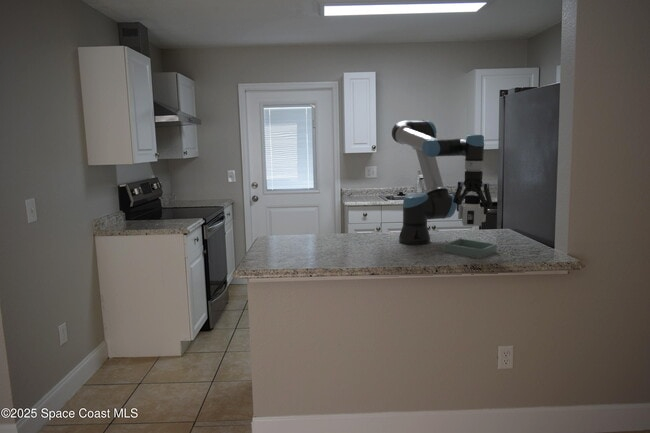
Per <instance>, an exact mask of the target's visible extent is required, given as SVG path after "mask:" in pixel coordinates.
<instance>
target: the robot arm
mask: <svg viewBox="0 0 650 433" xmlns="http://www.w3.org/2000/svg"><path fill="white" fill-rule="evenodd" d="M391 137H392V139H393V140H394V141H395V142H396V143H398V144H401V145H408V146H410V147H412V149H413V150H414V151H415V152H416V155H417V159H418V163H419V166H420V171H421V174H422V178H423V183H424V186H425V189H426V192H418V193H417V192H416V193H409V194H407V195H405V197H404V198H403V203H402V227H401V229H400V230H401V231H400V233H399V236H398V241H399V243H402V244H405V245H413V246H414V245H415V246H417V245H419V246H421V245H426V244H427V245H428V244H430V243H431V236H430V235H431V234H430V232H429V229H428V220H439V219H449V218H451V217H452V216H454V215H455V213H456V212H458V214H457V218H458V219H457V220H462V208H463V206H464V203H463V201H465V196H467V195H469V194H468V193H470V192H474V193H475V194H476V195H478V196H479V198H480V203H481V204H482V207H481V208H482V214H481V223H485V222H486V221H487V220H486V219H487V218H486V217H487V215H488V213H489V207H492V206H493V205H494V204H493V199H492V196H491V192H490V183H483V174H484V173H483V169H484V153H485V137H484V135H483V134H467V135H466V137H465V138H449V139H448V138H446V139H444V138H443V139H442V138H441V139H439V138H437V128H436V125H435V123H433V122H432V121H430V120H425V119H421V120H405V119H404V120H401V121H397V123H396V124H394V125H393V127H392V129H391ZM456 156H457V157H460V156H461V157H465V159H464V160H465V161H464V170H465V171H464V181H458V182H457V187H456V188H457V189H456V191H455V194H454V195H453V194H452V193H451V194H450V192H449V190H448V188H447V187H445V186H444V183H443V180H442V175H441V172H440V169H439V164H438V161H437V157H456ZM463 187H465V188H464V189H463ZM482 188H483V190H482ZM462 190H463V191H462ZM483 192H484V193H483Z"/></svg>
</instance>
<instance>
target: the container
mask: <svg viewBox="0 0 650 433" xmlns="http://www.w3.org/2000/svg"><path fill="white" fill-rule="evenodd" d="M481 214H482V207H481V200H480V198H479V196H478V194H467V195H466V196H465V198H464V205H463V208H462V219H461V223H462V225H463V226H464V227H465V226H470V227H482V222H481Z"/></svg>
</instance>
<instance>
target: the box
mask: <svg viewBox="0 0 650 433" xmlns="http://www.w3.org/2000/svg"><path fill="white" fill-rule="evenodd" d="M461 244H462V245H461ZM463 245H464V246H463ZM497 248H498V244H497V243H492V242H491V243H490V242H487V241H486V242H485V241H481V240H480V241H479V240H473V239H465V238H457V239H455V240H451V241H448V242H446V243H444V244H443V252H444V253H450V254H454V255H460V256H465V257H473V258H478V259H483V258H485V257H487V256H488V257H489V256H490V255H492V253H493V254H495V253H497V252H498V251H497Z"/></svg>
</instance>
